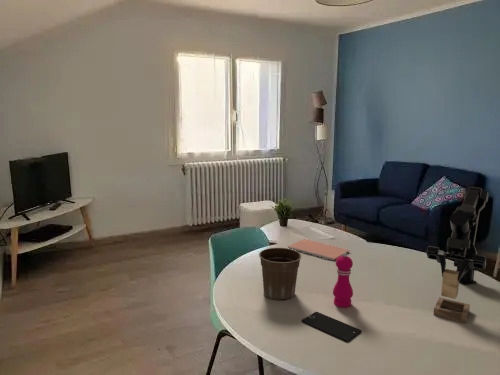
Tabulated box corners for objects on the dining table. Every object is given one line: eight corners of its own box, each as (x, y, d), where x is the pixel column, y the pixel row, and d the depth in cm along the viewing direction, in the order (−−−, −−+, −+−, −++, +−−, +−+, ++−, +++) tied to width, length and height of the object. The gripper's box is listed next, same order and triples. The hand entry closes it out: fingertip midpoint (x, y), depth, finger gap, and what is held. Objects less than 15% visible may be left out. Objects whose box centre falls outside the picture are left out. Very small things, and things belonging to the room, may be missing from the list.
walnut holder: (438, 303, 148) (439, 297, 148) (469, 311, 143) (469, 304, 142) (433, 314, 140) (434, 308, 140) (465, 323, 135) (466, 316, 134)
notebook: (286, 250, 207) (286, 246, 207) (304, 242, 220) (304, 238, 219) (332, 262, 190) (333, 258, 189) (349, 253, 202) (349, 249, 202)
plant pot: (305, 289, 161) (306, 250, 158) (292, 306, 146) (293, 265, 143) (268, 282, 168) (268, 245, 165) (252, 298, 153) (252, 258, 150)
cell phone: (316, 313, 142) (316, 311, 142) (362, 332, 130) (362, 330, 130) (300, 322, 136) (300, 320, 136) (347, 344, 124) (347, 341, 123)
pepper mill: (353, 300, 151) (355, 250, 147) (351, 309, 144) (354, 256, 140) (333, 297, 153) (335, 248, 149) (331, 306, 146) (333, 254, 143)
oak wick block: (443, 291, 144) (446, 268, 143) (457, 294, 142) (460, 271, 140) (441, 295, 141) (443, 272, 139) (455, 299, 138) (457, 276, 136)
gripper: (429, 224, 145) (419, 262, 139) (488, 233, 134) (480, 275, 128) (432, 239, 153) (423, 276, 146) (489, 249, 142) (481, 289, 135)
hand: (450, 278), depth 139 cm, fingers closed on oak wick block, 4 cm apart
